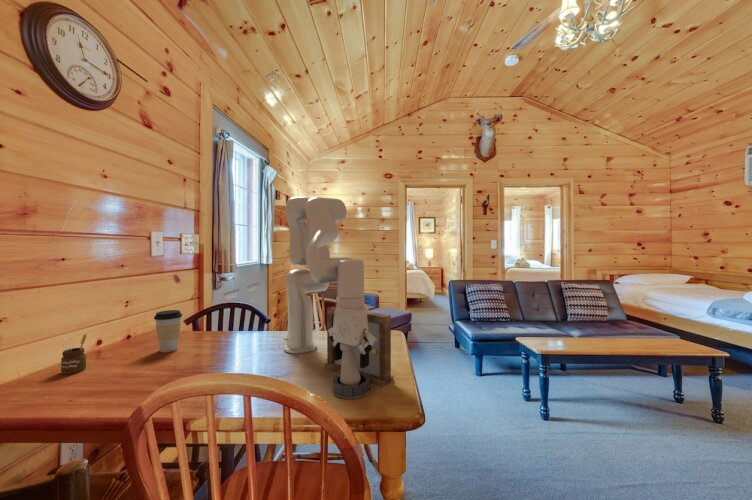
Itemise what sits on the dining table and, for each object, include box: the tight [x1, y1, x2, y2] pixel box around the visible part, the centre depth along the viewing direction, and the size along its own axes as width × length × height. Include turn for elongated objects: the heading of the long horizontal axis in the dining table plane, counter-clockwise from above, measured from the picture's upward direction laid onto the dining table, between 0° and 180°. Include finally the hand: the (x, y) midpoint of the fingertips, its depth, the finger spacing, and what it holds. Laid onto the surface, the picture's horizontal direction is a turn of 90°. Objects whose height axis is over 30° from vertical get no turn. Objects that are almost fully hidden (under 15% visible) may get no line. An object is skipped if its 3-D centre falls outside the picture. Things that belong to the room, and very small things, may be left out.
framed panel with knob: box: [323, 305, 395, 388], centre depth 99 cm, size 24×6×20 cm, turn 53°
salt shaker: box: [339, 343, 361, 386], centre depth 89 cm, size 6×6×13 cm
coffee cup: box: [153, 309, 183, 353], centre depth 123 cm, size 9×9×15 cm
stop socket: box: [331, 373, 372, 400], centre depth 88 cm, size 11×11×3 cm
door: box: [335, 321, 380, 377], centre depth 99 cm, size 19×3×16 cm, turn 53°
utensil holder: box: [60, 333, 87, 375], centre depth 102 cm, size 6×6×12 cm
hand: (351, 363), depth 88 cm, fingers open, 9 cm apart
